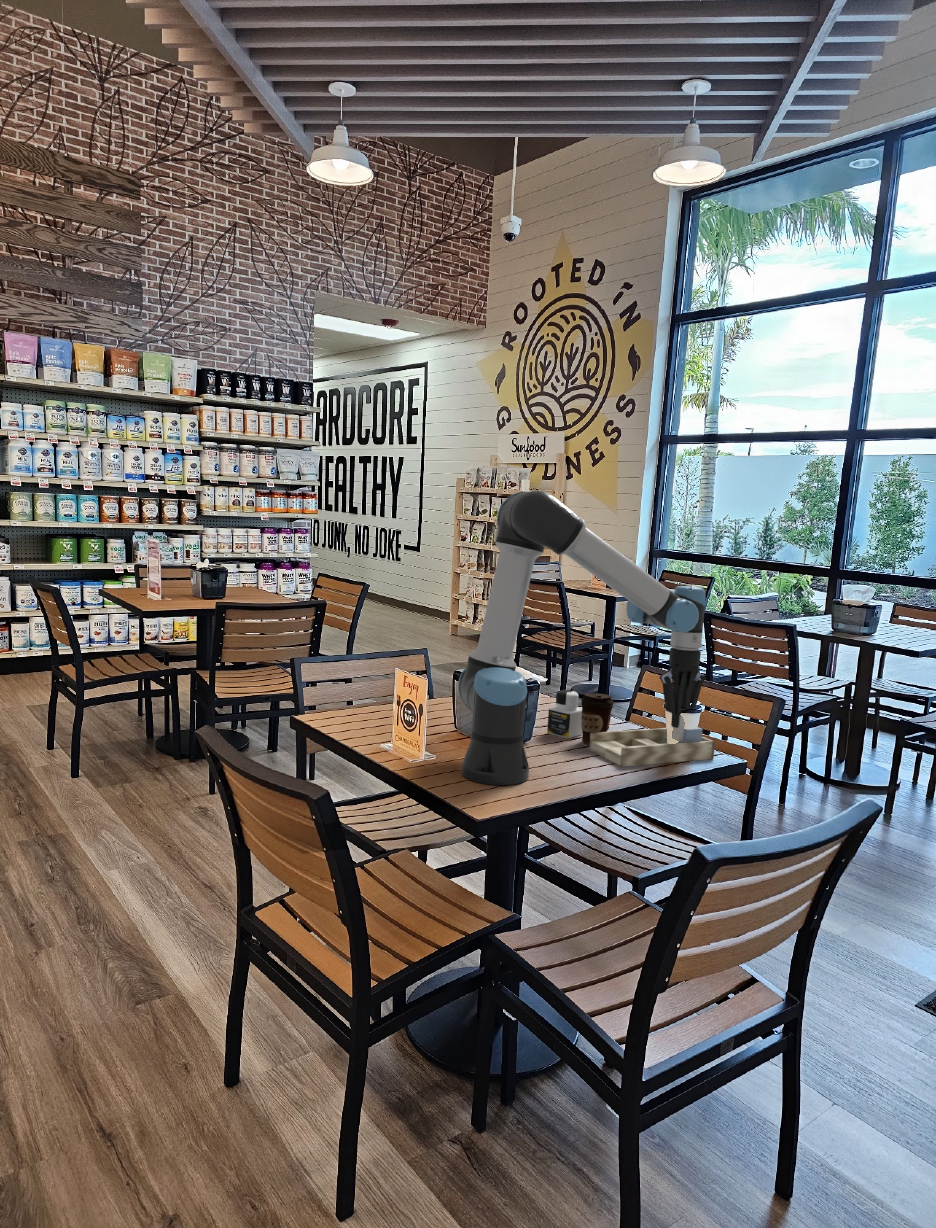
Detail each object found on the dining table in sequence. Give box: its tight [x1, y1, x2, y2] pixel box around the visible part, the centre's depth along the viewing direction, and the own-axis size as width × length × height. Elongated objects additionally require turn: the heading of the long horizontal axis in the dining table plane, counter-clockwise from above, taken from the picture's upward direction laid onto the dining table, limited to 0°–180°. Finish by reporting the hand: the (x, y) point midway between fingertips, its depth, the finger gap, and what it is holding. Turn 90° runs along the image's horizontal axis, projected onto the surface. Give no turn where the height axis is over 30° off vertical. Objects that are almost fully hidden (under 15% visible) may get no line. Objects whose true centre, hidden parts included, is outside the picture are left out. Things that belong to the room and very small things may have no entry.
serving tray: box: [588, 727, 716, 768], centre depth 202 cm, size 28×14×4 cm, turn 114°
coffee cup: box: [581, 692, 614, 745], centre depth 210 cm, size 9×8×13 cm
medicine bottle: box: [546, 689, 583, 739], centre depth 218 cm, size 7×7×12 cm
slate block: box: [678, 726, 704, 743], centre depth 203 cm, size 5×5×5 cm
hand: (677, 739), depth 202 cm, fingers closed
